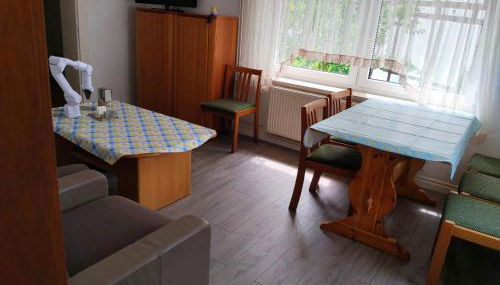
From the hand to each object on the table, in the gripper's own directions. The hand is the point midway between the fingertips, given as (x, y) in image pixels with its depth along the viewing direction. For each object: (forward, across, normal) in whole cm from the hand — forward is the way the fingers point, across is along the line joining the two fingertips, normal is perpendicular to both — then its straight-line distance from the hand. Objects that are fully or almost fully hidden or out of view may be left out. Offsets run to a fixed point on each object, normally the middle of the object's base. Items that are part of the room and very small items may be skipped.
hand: (88, 99), depth 284 cm
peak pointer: (+8, -23, +3) cm, 24 cm away
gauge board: (+9, -18, -2) cm, 20 cm away
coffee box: (+10, 0, -13) cm, 16 cm away
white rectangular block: (+8, -15, 0) cm, 17 cm away
